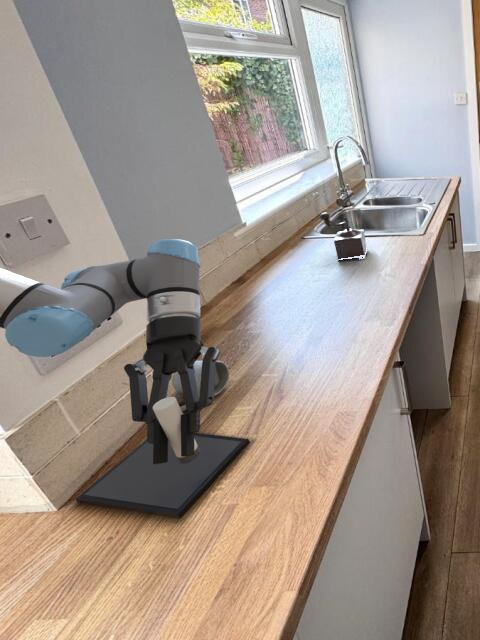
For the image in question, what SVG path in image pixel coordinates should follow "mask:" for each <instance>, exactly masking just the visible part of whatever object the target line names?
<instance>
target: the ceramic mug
mask: <svg viewBox="0 0 480 640" xmlns="http://www.w3.org/2000/svg"><path fill="white" fill-rule="evenodd" d="M202 361H203V360H196V361H195V363H194V369H195V374H194V375H195V380H196V385H197V390H198V394H199V395H200V383H201V371H202ZM229 379H230V370H229V367H228V365H227V364H226V363H225V362H224V361H222V360H217V361H216V370H215V384H214V397H215V396H217V395H219V394H220V393H221V392H222V391H223V390H224V389H225V388H226V386H227V385H228V383H229ZM171 381H172V387H173V389H174V390H175V393H174V394H173V396H172V397H175V398H176V400H177V402H178V403H179V400H180V398H181V397H182V395H183V390H182V385H181V380H180V375H179V374H178V372H175V373H173V374H172V378H171ZM180 408H181V411H182V412H185V411H184V410H186V406H185V404H184V405H182V406H180Z"/></svg>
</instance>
